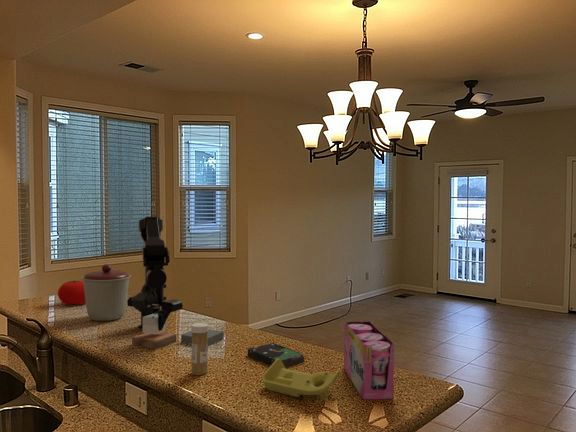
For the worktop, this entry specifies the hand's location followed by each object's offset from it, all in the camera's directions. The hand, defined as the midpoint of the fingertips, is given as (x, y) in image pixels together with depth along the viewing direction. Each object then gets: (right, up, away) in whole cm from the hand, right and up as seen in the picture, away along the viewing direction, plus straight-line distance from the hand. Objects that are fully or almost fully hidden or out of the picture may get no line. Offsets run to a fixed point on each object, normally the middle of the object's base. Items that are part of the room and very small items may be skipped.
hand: (154, 329), depth 163 cm
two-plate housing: (0, -1, 0) cm, 1 cm away
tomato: (-49, -2, +54) cm, 73 cm away
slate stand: (+15, -5, +4) cm, 16 cm away
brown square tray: (0, -5, 0) cm, 5 cm away
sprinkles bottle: (+19, -6, -26) cm, 33 cm away
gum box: (+65, -7, -31) cm, 72 cm away
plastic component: (+47, -7, -38) cm, 61 cm away
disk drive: (+40, -7, -13) cm, 43 cm away
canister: (-27, -3, +31) cm, 41 cm away
